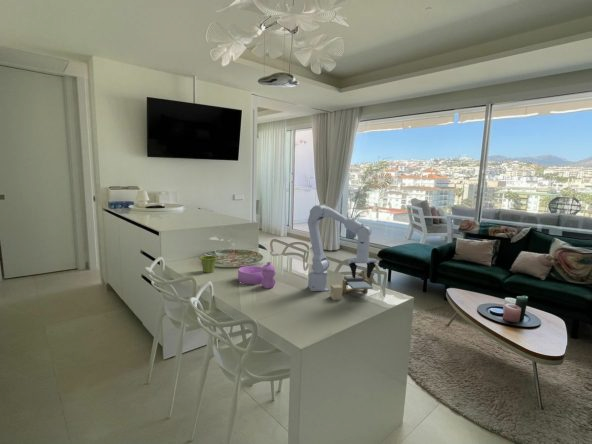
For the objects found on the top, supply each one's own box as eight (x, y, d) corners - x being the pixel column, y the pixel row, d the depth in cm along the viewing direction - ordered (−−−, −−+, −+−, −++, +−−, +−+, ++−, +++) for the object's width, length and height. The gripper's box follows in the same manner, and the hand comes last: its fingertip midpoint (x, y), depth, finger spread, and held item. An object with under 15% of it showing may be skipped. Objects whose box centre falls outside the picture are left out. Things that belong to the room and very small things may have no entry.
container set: (232, 280, 179) (232, 256, 178) (253, 275, 190) (254, 253, 189) (261, 291, 162) (262, 266, 160) (283, 285, 173) (284, 261, 171)
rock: (361, 287, 172) (365, 269, 174) (353, 285, 177) (356, 267, 179) (376, 291, 178) (380, 273, 180) (367, 289, 184) (371, 272, 186)
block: (332, 299, 155) (333, 287, 155) (330, 296, 160) (330, 284, 159) (341, 299, 156) (342, 287, 155) (338, 296, 161) (339, 284, 160)
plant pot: (199, 270, 195) (199, 256, 194) (214, 269, 199) (215, 255, 198) (201, 274, 187) (201, 259, 185) (217, 273, 191) (218, 258, 189)
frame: (343, 293, 165) (344, 280, 164) (340, 290, 170) (341, 277, 169) (367, 292, 167) (368, 280, 167) (363, 289, 172) (364, 277, 172)
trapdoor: (353, 292, 156) (353, 284, 156) (342, 282, 170) (343, 276, 170) (372, 291, 158) (372, 284, 158) (360, 282, 172) (361, 275, 172)
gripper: (351, 252, 153) (350, 280, 154) (380, 252, 156) (378, 279, 157) (346, 249, 160) (345, 275, 161) (374, 249, 162) (372, 275, 164)
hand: (361, 277), depth 160 cm, fingers open, 7 cm apart
